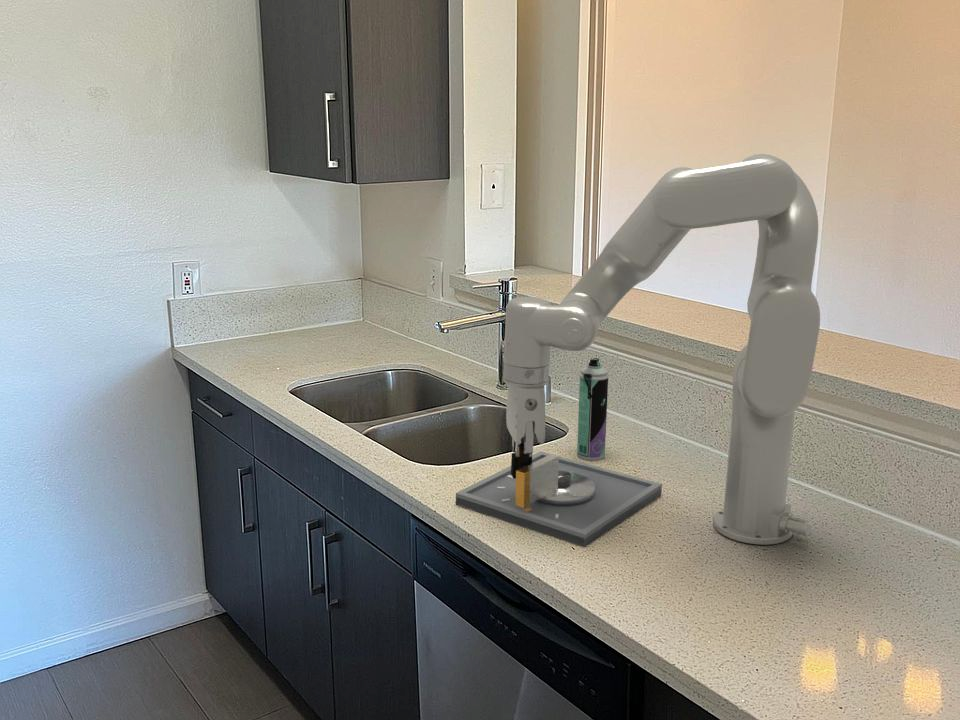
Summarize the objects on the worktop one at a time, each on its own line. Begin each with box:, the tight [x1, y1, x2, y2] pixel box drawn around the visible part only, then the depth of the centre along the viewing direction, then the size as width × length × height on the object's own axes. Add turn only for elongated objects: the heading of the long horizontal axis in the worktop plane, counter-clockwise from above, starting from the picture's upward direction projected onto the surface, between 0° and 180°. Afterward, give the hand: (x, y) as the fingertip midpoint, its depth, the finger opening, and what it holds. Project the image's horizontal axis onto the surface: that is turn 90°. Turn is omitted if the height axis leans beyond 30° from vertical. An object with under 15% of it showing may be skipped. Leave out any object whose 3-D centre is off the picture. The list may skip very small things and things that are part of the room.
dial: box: [515, 453, 595, 508], centre depth 158 cm, size 18×12×8 cm, turn 141°
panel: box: [455, 451, 663, 548], centre depth 161 cm, size 26×26×2 cm
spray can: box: [576, 357, 609, 462], centre depth 180 cm, size 6×6×20 cm
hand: (520, 476), depth 156 cm, fingers closed
